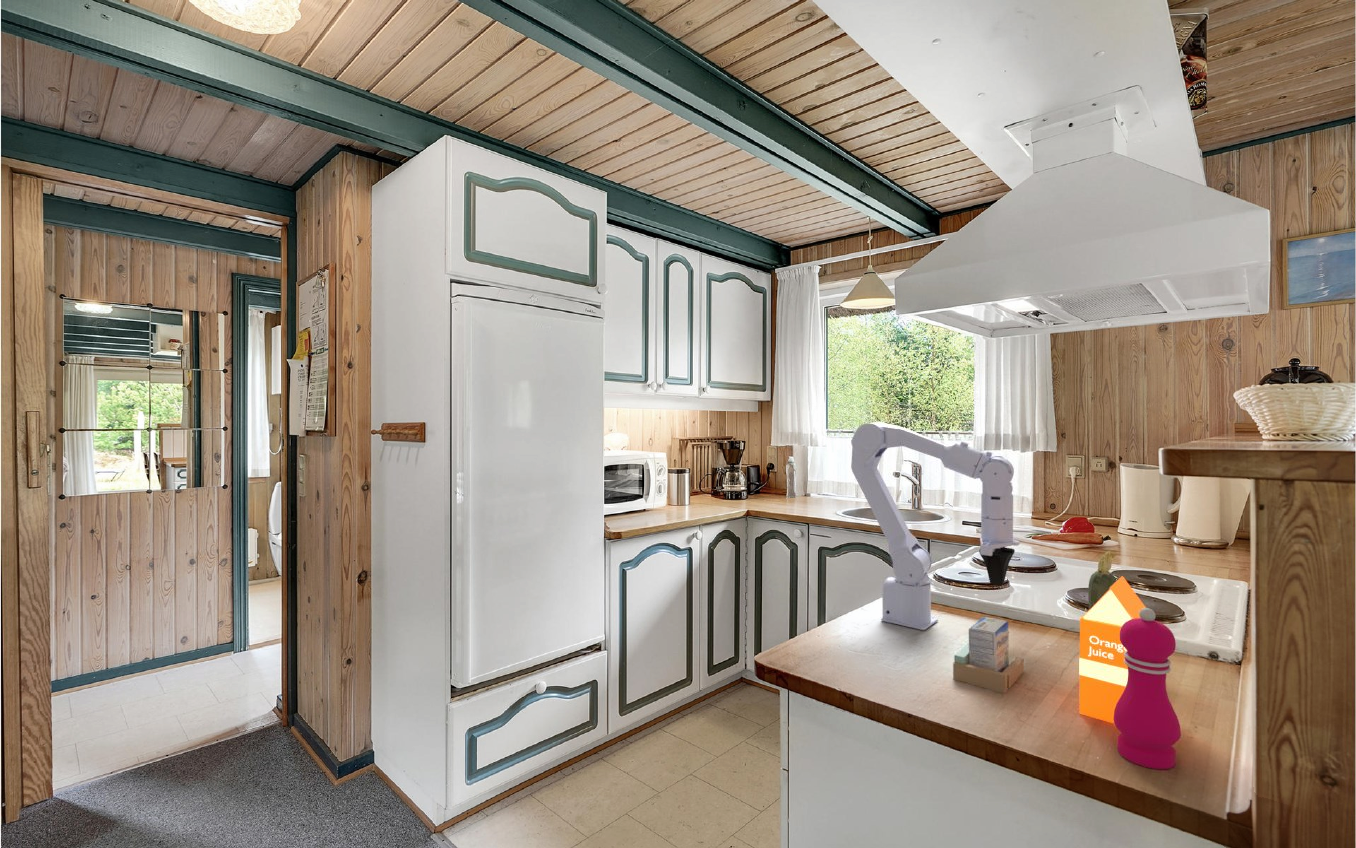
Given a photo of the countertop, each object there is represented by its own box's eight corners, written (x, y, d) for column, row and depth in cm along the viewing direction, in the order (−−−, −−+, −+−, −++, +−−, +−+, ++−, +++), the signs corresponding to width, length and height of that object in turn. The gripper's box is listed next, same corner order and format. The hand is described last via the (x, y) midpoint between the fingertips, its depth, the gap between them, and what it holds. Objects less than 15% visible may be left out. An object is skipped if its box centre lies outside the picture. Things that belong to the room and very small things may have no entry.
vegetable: (1089, 660, 116) (1089, 551, 115) (1087, 652, 120) (1087, 546, 119) (1118, 664, 114) (1119, 553, 113) (1115, 656, 118) (1115, 548, 117)
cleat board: (953, 679, 109) (953, 656, 109) (990, 644, 125) (990, 623, 125) (1005, 693, 104) (1005, 669, 104) (1037, 654, 119) (1037, 633, 119)
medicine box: (996, 684, 107) (996, 633, 107) (968, 677, 110) (968, 627, 110) (1009, 669, 113) (1009, 620, 113) (982, 662, 116) (982, 615, 116)
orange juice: (1078, 713, 97) (1078, 583, 96) (1093, 694, 103) (1093, 571, 103) (1140, 731, 91) (1142, 593, 91) (1152, 710, 98) (1154, 580, 97)
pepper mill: (1192, 775, 81) (1194, 618, 80) (1128, 769, 82) (1130, 615, 82) (1161, 744, 88) (1163, 601, 87) (1103, 740, 89) (1104, 598, 89)
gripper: (1008, 525, 120) (1008, 596, 121) (1028, 514, 131) (1028, 580, 131) (968, 521, 125) (969, 589, 125) (991, 510, 136) (991, 574, 136)
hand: (996, 584), depth 129 cm, fingers closed
